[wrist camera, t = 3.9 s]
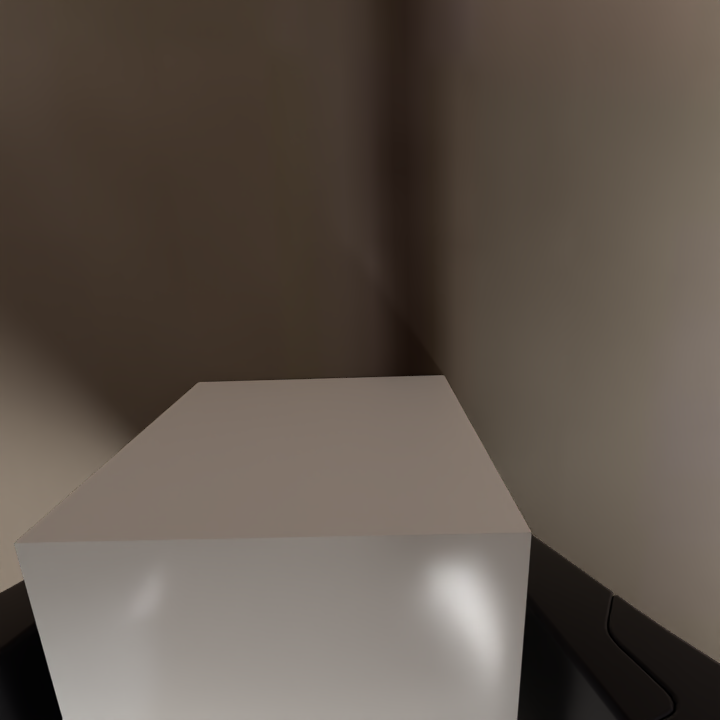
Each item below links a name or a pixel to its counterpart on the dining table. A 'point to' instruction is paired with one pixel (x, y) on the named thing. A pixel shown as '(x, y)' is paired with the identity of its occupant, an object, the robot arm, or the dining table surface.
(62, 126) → the dining table surface
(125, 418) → the dining table surface
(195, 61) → the dining table surface
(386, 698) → the cube
